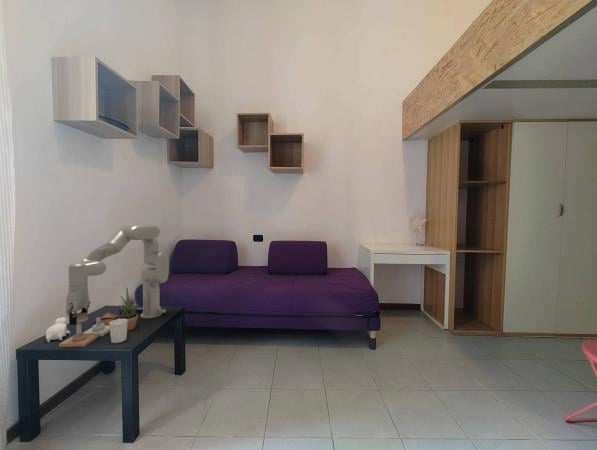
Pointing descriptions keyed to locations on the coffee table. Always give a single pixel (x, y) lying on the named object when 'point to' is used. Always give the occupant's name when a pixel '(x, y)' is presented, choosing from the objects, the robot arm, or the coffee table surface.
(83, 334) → the hub post
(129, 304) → the potted plant
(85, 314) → the birch ring
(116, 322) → the white cup
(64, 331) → the white figurine
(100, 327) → the stand
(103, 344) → the coffee table surface
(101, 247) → the robot arm
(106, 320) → the sunglasses case
